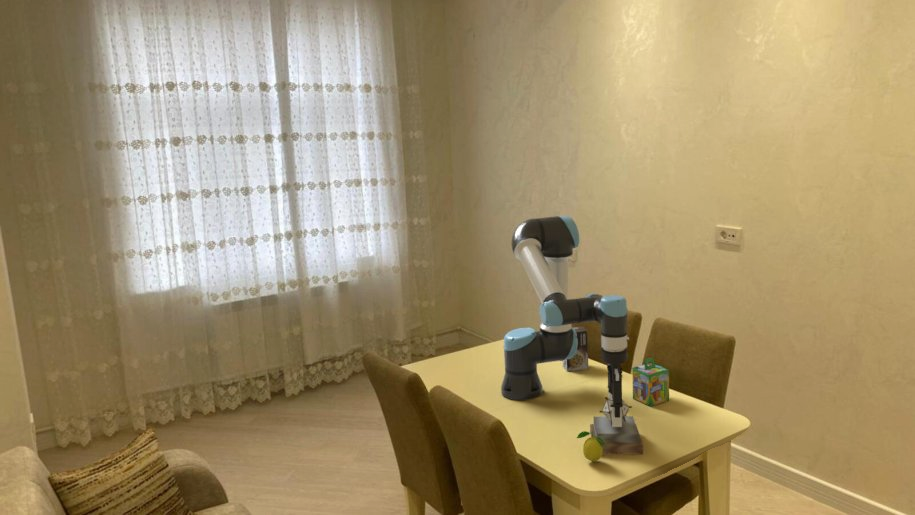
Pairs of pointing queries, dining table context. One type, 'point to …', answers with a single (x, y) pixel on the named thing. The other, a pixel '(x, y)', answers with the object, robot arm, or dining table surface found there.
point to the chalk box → (650, 383)
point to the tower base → (620, 446)
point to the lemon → (592, 446)
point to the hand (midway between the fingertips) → (615, 420)
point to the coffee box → (578, 352)
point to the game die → (608, 410)
